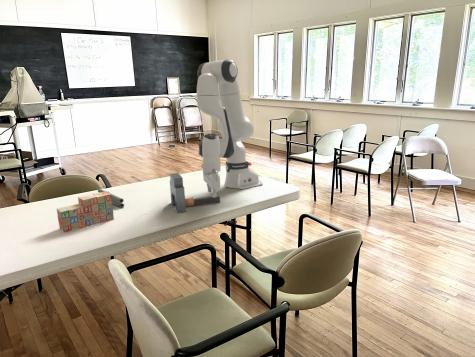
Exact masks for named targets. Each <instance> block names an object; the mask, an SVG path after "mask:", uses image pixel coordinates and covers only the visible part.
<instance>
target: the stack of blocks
mask: <svg viewBox="0 0 475 357" xmlns="http://www.w3.org/2000/svg"><path fill="white" fill-rule="evenodd" d="M104 191H105V192H100V193H99V192H98V191H97V192H93V193H91V194H86V195H81V196H77V202H78V203H76V204H71V205H67V206H62V207H58V208H56V213H57V214H56V215H57V220H58V227H59V229H60V231H61V232H63V233H68V232H72V230H73V231H75V230H76V229H77V230H80V229H84V228H87V226H88V227H91V225H92V226H95V225H99V224H102V223H106V222H109V221H114V220H115V217H114V208H113V207H114V206H113V203H112V199H111V194H112V193H111V192H109V191H107V192H106V190H104ZM108 192H109V193H108ZM110 193H111V194H110ZM83 227H84V228H83Z"/></svg>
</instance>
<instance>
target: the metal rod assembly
mask: <svg viewBox="0 0 475 357" xmlns="http://www.w3.org/2000/svg"><path fill="white" fill-rule="evenodd" d="M105 191H106V190H104V189H101V188H98V189H97V193H98V192H99V193H100V192H105ZM106 192H108V193H110V194H111V199H112V205H113V204H114V205H115V206H117V207H120V208H124V207H125V204H124V203H123V202H124V198H121V197H119V196H118V195H116V194H113V193H111V192H110V191H108V190H107V191H106Z"/></svg>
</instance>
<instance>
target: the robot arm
mask: <svg viewBox="0 0 475 357" xmlns="http://www.w3.org/2000/svg"><path fill="white" fill-rule="evenodd" d="M238 74H239V72H238V66H237V64H236V63H235V61H234V60H232V59H222V60H221V59H220V60H219V59H218V60H213V61H209V62H203V63H202V64H199V66H198V69H197V84H196V102H197V108H198V109H199V111H201V112H202V113H203V114H205V115H208V116H210V117H212V118H215V119H217V120H218V124H217V129H218V132H219V133H220V135H221V136H222V138H220V137H219V135H217V134H215V133H206V134H204V135H203V136H202V139H201V140H200V141H199V142H198V143H197V145H198V155H199V156H200V157H202V163H201V169H202V175H203V181H204V182H205V183H206V188H207V192H208V193H211V196H212V197H216V195H218V191H220V190H221V177H220V174H219V173H220V172H221V158H222V159H226V160H225V172H226V173H225V180H224V181H225V182H224V187H226V188H230V189H239V190H245V189H248V188H254V187H259V186H263V185H264V183H263V181H262V180H261V179H260V178H259V175H258V173H257V172H256V171H255V170H254V169H252V168H251V166H252V162H250V161H247V160H246V147H245V145H244V144H243V142H242V140H241V139H249V138H250V137H252V136H253V134H254V130H255V129H254V128H255V127H254V124H253V123H252V121H251V120H250V119H249V118H248V116H247V114H246V111H245V110H244V107H243V103H242V97H241V90H240V86H239V81H238V78H237V76H238Z"/></svg>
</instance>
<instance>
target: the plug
mask: <svg viewBox="0 0 475 357" xmlns="http://www.w3.org/2000/svg"><path fill="white" fill-rule="evenodd" d="M220 199H221V197H220V195H218V194H216V197H212V195H209V196H202V197H196V198H194V197H185V207H186V208H187V207H192V206H194V207H195V206H196V207H197V206H203V205H211V204H218V203H221V200H220Z"/></svg>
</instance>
